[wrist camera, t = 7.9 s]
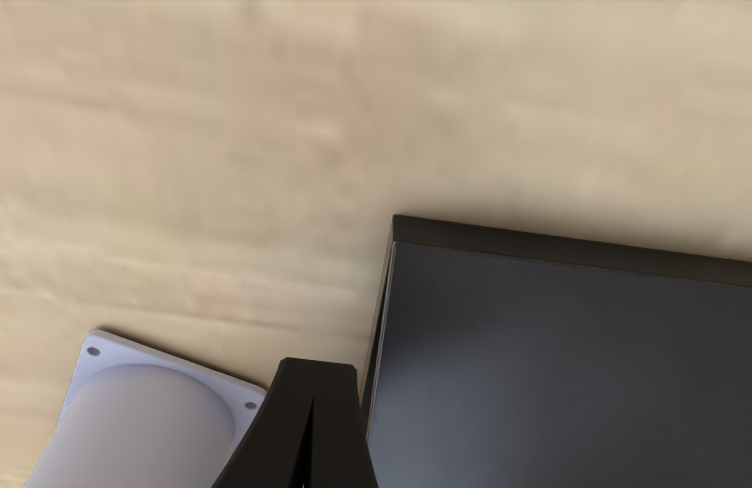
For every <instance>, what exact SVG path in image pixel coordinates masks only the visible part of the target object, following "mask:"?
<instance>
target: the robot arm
mask: <svg viewBox="0 0 752 488" xmlns="http://www.w3.org/2000/svg"><path fill="white" fill-rule="evenodd" d="M96 348H97V349H96ZM241 439H242V440H241ZM239 442H240V443H239ZM238 444H239V445H238ZM237 445H238V446H237ZM236 447H237V448H236ZM235 448H236V450H235ZM234 450H235V451H234ZM233 451H234V453H233ZM232 453H233V455H232ZM231 455H232V456H231ZM230 456H231V458H230ZM229 458H230V460H229V461H228V459H229ZM227 461H228V463H227V464H226V462H227ZM225 465H226V466H225ZM303 484H304V488H379V487H378V483H377V480H376V476H375V472H374V468H373V465H372V461H371V457H370V453H369V449H368V445H367V440H366V436H365V431H364V426H363V421H362V416H361V410H360V403H359V396H358V386H357V370H356V369H355V368H354V366H353V365H349V364H341V363H332V362H324V361H316V360H307V359H299V358H290V357H286V358H284V359H283V360H281V361H280V364H279V366H278V369H277V372H276V375H275V377H274V379H273V381H272V384H271V386H270V388H269V390H268V392H267V391H266V390H265V389H263V388H262V387H259V386H257V385H254V384H251V383H248V382H245V381H243V380H240V379H237V378H234V377H231V376H229V375H226V374H223V373H220V372H217V371H215V370H212V369H209V368H206V367H203V366H201V365H198V364H195V363H192V362H189V361H187V360H184V359H181V358H178V357H175V356H173V355H170V354H167V353H164V352H161V351H159V350H156V349H153V348H150V347H147V346H145V345H142V344H139V343H136V342H133V341H131V340H128V339H125V338H122V337H119V336H117V335H114V334H111V333H108V332H105V331H102V330H92V331H90V332H89V333H88V334H87V336H86V338H85V339H84V343H83V346H82V349H81V352H80V355H79V358H78V361H77V364H76V367H75V371H74V374H73V377H72V380H71V383H70V386H69V389H68V392H67V395H66V399H65V402H64V405H63V408H62V411H61V414H60V417H59V420H58V423H57V427H56V430H55V432H54V434H53V435H52V437H51V439H50V441H49V442H48V444H47V446H46V448H45V449H44V451H43V453H42V455H41V456H40V458H39V460H38V462H37V463H36V465H35V467H34V469H33V470H32V472H31V474H30V476H29V477H28V479H27V481H26V483H25V484H24V486H23V488H303Z"/></svg>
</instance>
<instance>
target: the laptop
mask: <svg viewBox="0 0 752 488" xmlns="http://www.w3.org/2000/svg"><path fill="white" fill-rule="evenodd" d="M394 241H402V242H410V243H417V244H425V245H432V246H440V247H448V248H455V249H463V250H470V251H478V252H486V253H493V254H501V255H509V256H516V257H524V258H531V259H539V260H547V261H554V262H562V263H569V264H577V265H585V266H592V267H600V268H608V269H615V270H623V271H630V272H638V273H646V274H653V275H661V276H668V277H676V278H684V279H691V280H699V281H706V282H714V283H722V284H729V285H737V286H745V287H752V262H745V261H738V260H730V259H723V258H715V257H708V256H700V255H693V254H685V253H678V252H670V251H663V250H656V249H648V248H641V247H633V246H626V245H618V244H611V243H603V242H596V241H588V240H581V239H573V238H566V237H558V236H551V235H543V234H536V233H529V232H521V231H514V230H506V229H499V228H491V227H484V226H476V225H469V224H461V223H454V222H446V221H439V220H431V219H424V218H416V217H409V216H401V215H393V217H392V223H391V228H390V233H389V239H388V244H387V250H386V255H385V260H384V266H383V271H382V276H381V282H380V287H379V293H378V298H377V303H376V309H375V314H374V320H373V325H372V330H371V336H370V341H369V346H368V352H367V357H366V363H365V368H364V373H363V379H362V384H361V390H360V395H359V403H360V410H361V416H362V421H363V426H364V431H365V436H366V434H367V427H368V420H369V412H370V405H371V398H372V390H373V383H374V376H375V369H376V361H377V354H378V347H379V339H380V332H381V325H382V317H383V310H384V303H385V296H386V288H387V281H388V274H389V266H390V259H391V252H392V245H393V242H394Z"/></svg>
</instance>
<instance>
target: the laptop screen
mask: <svg viewBox="0 0 752 488" xmlns="http://www.w3.org/2000/svg"><path fill="white" fill-rule="evenodd" d="M366 440H367V445H368V449H369V453H370V457H371V461H372V465H373V468H374V472H375V476H376V480H377V483H378V487H379V488H752V287H745V286H737V285H729V284H722V283H714V282H706V281H699V280H691V279H684V278H676V277H668V276H661V275H653V274H646V273H638V272H630V271H623V270H615V269H608V268H600V267H592V266H585V265H577V264H569V263H562V262H554V261H547V260H539V259H531V258H524V257H516V256H509V255H501V254H493V253H486V252H478V251H470V250H463V249H455V248H448V247H440V246H432V245H425V244H417V243H410V242H402V241H394V242H393V245H392V252H391V259H390V266H389V274H388V281H387V288H386V296H385V303H384V310H383V317H382V325H381V332H380V339H379V347H378V354H377V361H376V369H375V376H374V383H373V390H372V398H371V405H370V412H369V420H368V427H367V434H366Z"/></svg>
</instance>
